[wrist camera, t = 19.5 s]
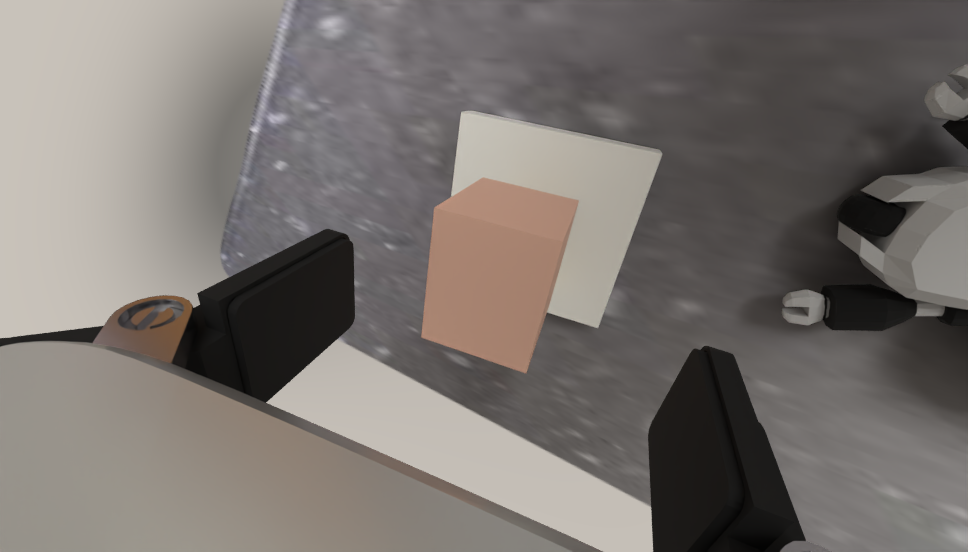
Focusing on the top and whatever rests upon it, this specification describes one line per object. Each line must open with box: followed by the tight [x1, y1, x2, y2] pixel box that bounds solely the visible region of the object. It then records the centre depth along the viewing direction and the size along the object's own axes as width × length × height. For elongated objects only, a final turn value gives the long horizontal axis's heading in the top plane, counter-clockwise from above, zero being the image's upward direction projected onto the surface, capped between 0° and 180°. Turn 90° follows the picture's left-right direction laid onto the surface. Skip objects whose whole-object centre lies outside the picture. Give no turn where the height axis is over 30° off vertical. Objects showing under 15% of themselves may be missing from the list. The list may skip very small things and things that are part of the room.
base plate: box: [451, 111, 662, 328], centre depth 22 cm, size 10×10×2 cm
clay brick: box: [421, 177, 579, 373], centre depth 15 cm, size 5×4×5 cm
